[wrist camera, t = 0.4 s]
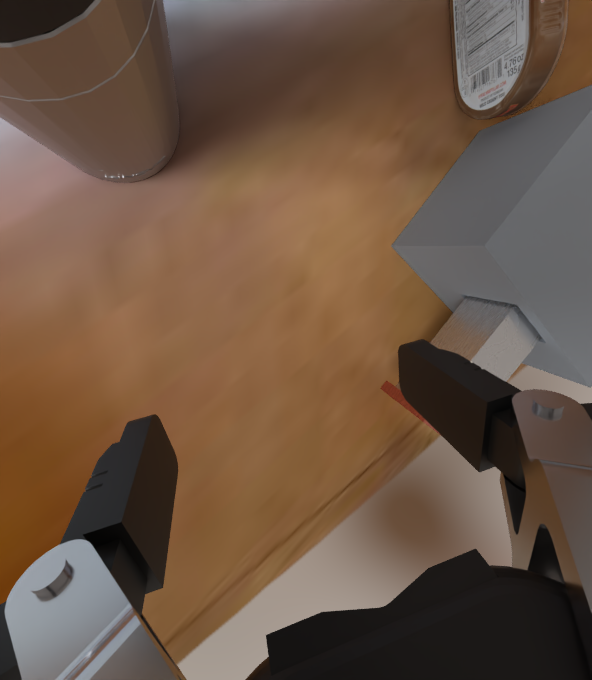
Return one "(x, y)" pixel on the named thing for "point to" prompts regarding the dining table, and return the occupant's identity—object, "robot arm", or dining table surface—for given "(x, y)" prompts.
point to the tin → (504, 52)
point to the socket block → (519, 229)
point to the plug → (482, 340)
